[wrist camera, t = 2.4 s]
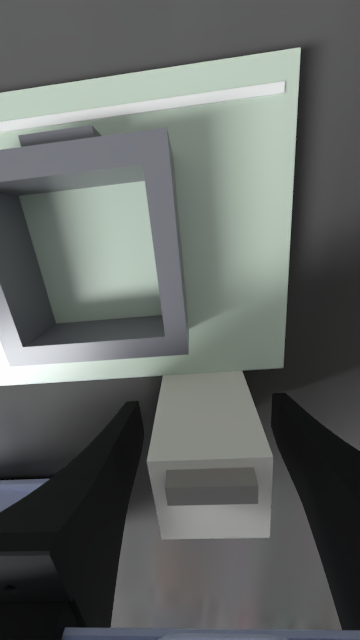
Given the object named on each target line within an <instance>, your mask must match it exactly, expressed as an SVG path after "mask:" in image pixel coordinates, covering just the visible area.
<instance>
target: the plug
mask: <svg viewBox="0 0 360 640" xmlns="http://www.w3.org/2000/svg"><path fill="white" fill-rule="evenodd" d="M147 466H148V471H149V476H150V481H151V486H152V492H153V497H154V502H155V507H156V512H157V517H158V522H159V527H160V532H161V538H162V539H211V538H270V517H271V496H272V474H273V455H272V452H271V449H270V447H269V444H268V441H267V438H266V435H265V433H264V430H263V427H262V424H261V421H260V419H259V416H258V413H257V410H256V408H255V405H254V402H253V399H252V396H251V394H250V391H249V388H248V385H247V382H246V380H245V377H244V374H243V371H227V372H211V373H195V374H179V375H163V377H162V383H161V388H160V393H159V399H158V404H157V409H156V415H155V420H154V425H153V431H152V436H151V441H150V447H149V452H148V457H147Z"/></svg>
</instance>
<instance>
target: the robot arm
mask: <svg viewBox="0 0 360 640" xmlns="http://www.w3.org/2000/svg"><path fill="white" fill-rule="evenodd" d="M271 427H272V430H273V434H274V437H275V440H276V443H277V446H278V449H279V451H280V453H281V456H282V458H283V460H284V463H285V465H286V467H287V469H288V472H289V474H290V476H291V478H292V481H293V483H294V485H295V487H296V490H297V492H298V494H299V497H300V499H301V502H302V504H303V507H304V510H305V513H306V516H307V519H308V521H309V524H310V527H311V530H312V533H313V536H314V539H315V542H316V546H317V549H318V552H319V555H320V558H321V561H322V564H323V567H324V571H325V574H326V577H327V580H328V584H329V587H330V590H331V593H332V597H333V600H334V604H335V607H336V610H337V614H338V617H339V621H340V624H341V627H342V630H270V629H173V628H110V627H111V618H112V610H113V602H114V594H115V586H116V579H117V572H118V564H119V557H120V551H121V544H122V538H123V531H124V525H125V519H126V513H127V508H128V503H129V499H130V495H131V491H132V487H133V483H134V479H135V475H136V472H137V468H138V464H139V460H140V456H141V452H142V445H143V438H144V428H143V423H142V418H141V412H140V407H139V402H138V401H131V402H126V403H125V404H124V406H123V407H122V408H121V409H120V410H119V412H118V413H117V414H116V415H115V417H114V418H113V419H112V420H111V421H110V422H109V424H108V425H107V426H106V427H105V428H104V429H103V431H102V432H101V433H100V434H99V435H98V436H97V437H96V438H95V439H94V440H93V441H92V442H91V443H90V445H89V446H88V447H87V448H86V449H85V450H84V451H83V452H81V453H80V454H79V455H78V456H77V457H76V458H75V459H74V460H73V461H72V462H70V463H69V464H68V465H67V466H66V467H64V468H63V469H62V470H61V471H59V472H58V473H57V474H56V475H54V476H53V477H52V478H51V479H25V480H0V640H360V451H359V450H357V449H355V448H354V447H352V446H351V445H349V444H348V443H346V442H345V441H343V440H342V439H341V438H339V437H338V436H336V435H335V434H334V433H332V432H331V431H330V430H328V429H327V428H326V427H324V426H323V425H322V424H321V423H319V422H318V421H317V420H316V419H314V418H313V417H312V416H311V415H310V414H309V413H307V412H306V411H305V410H304V409H303V408H302V407H300V406H299V405H298V404H297V403H296V402H295V401H294V400H293V399H291V398H290V397H289V396H288V395H287V394H286V393H274V394H272V417H271Z"/></svg>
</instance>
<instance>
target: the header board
mask: <svg viewBox="0 0 360 640" xmlns="http://www.w3.org/2000/svg"><path fill="white" fill-rule="evenodd" d="M300 53H301V47H300V48H293V49H286V50H280V51H273V52H267V53H260V54H253V55H247V56H240V57H234V58H227V59H220V60H214V61H207V62H201V63H194V64H187V65H181V66H174V67H168V68H161V69H154V70H148V71H141V72H135V73H128V74H121V75H115V76H108V77H102V78H95V79H88V80H82V81H75V82H69V83H62V84H55V85H49V86H42V87H36V88H29V89H22V90H16V91H9V92H3V93H0V386H4V385H20V384H36V383H52V382H68V381H84V380H100V379H116V378H131V377H147V376H163V375H179V374H195V373H211V372H227V371H243V370H258V369H274V368H283V366H284V348H285V329H286V311H287V292H288V274H289V255H290V237H291V219H292V200H293V182H294V163H295V145H296V126H297V108H298V89H299V71H300Z"/></svg>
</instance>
